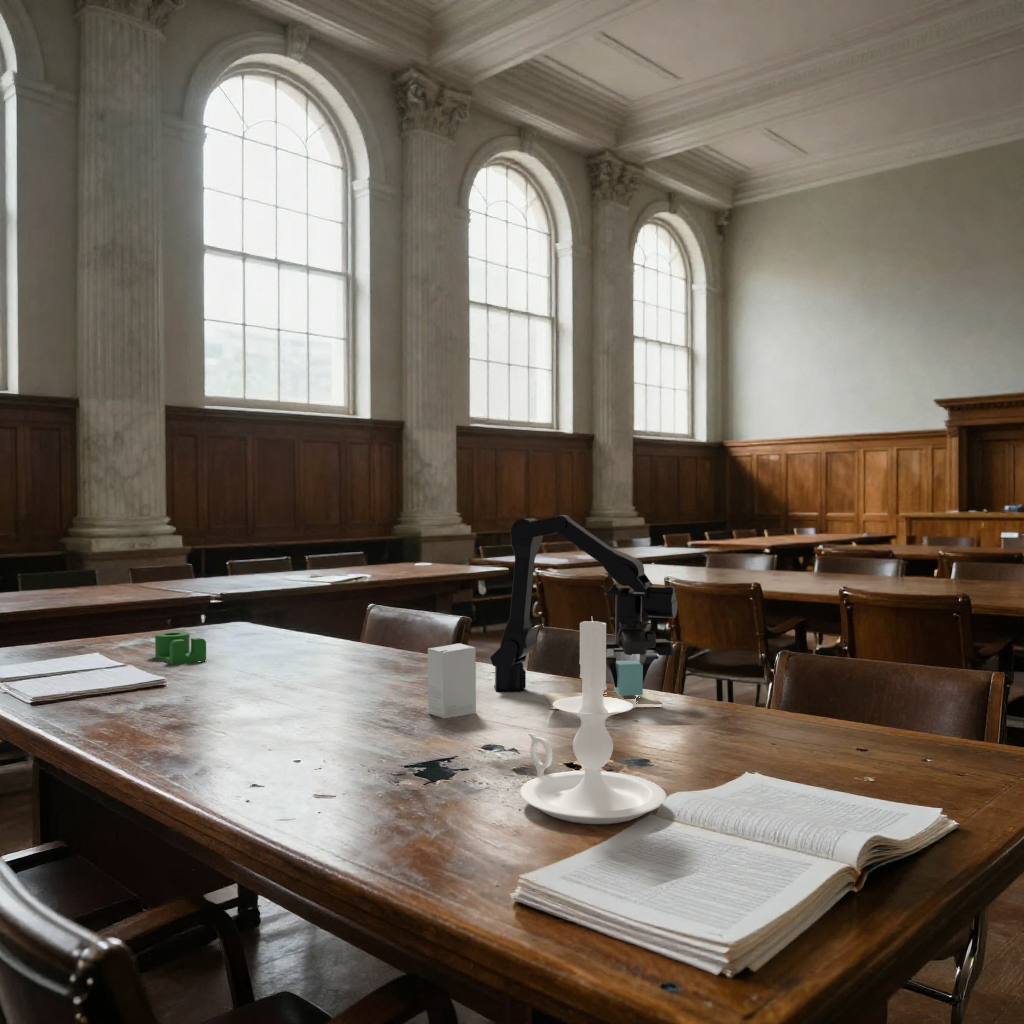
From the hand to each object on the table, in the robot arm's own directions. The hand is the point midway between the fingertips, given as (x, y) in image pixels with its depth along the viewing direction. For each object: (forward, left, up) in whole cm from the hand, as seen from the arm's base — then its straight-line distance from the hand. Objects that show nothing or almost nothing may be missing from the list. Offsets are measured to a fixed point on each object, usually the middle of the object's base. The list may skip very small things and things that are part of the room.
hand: (628, 686), depth 203 cm
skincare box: (-39, -13, -4) cm, 41 cm away
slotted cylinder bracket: (-112, +65, -4) cm, 129 cm away
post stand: (-6, 0, -3) cm, 7 cm away
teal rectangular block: (0, 0, -1) cm, 1 cm away
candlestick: (-22, -68, -4) cm, 72 cm away
